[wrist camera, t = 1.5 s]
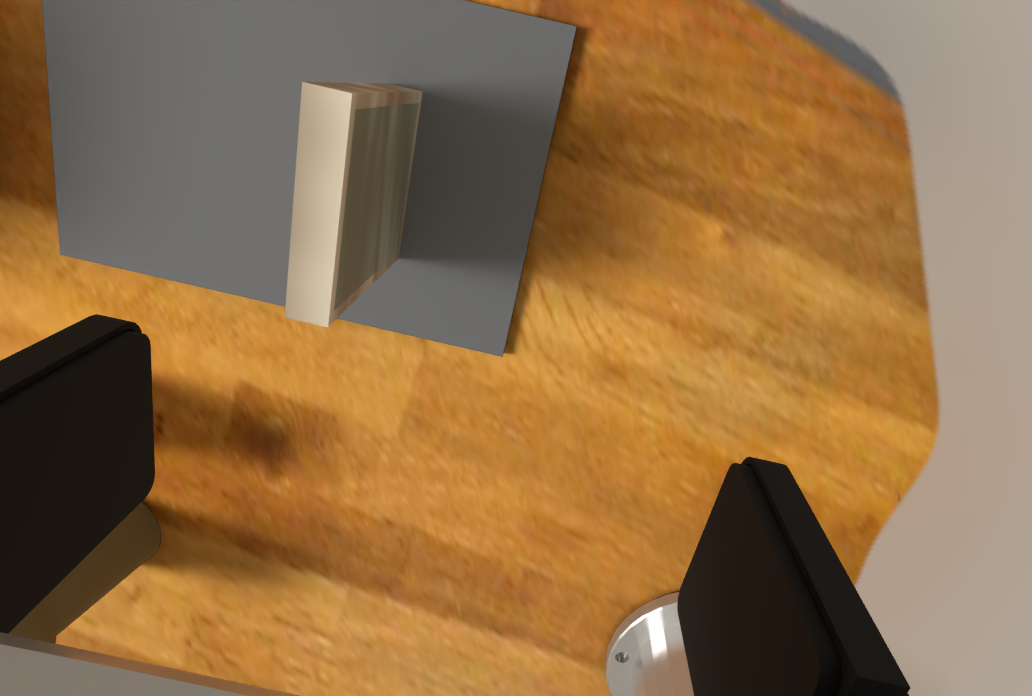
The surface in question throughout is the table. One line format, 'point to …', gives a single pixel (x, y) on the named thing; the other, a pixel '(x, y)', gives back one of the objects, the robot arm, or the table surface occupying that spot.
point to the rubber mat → (274, 138)
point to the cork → (94, 576)
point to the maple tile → (348, 193)
